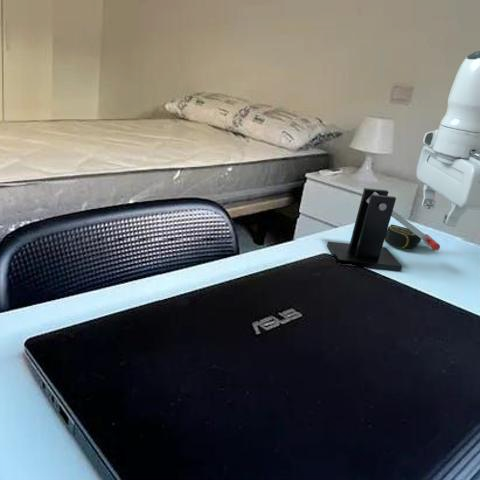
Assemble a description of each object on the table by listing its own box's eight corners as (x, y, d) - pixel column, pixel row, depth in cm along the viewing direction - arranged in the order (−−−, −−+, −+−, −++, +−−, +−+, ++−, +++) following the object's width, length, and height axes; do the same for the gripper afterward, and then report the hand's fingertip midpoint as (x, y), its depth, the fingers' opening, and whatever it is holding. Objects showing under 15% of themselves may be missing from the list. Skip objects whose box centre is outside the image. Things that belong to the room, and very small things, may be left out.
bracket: (384, 252, 104) (402, 189, 98) (400, 271, 96) (421, 203, 90) (326, 246, 104) (341, 183, 99) (337, 265, 96) (355, 197, 91)
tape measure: (419, 246, 109) (424, 230, 107) (411, 255, 104) (416, 238, 102) (387, 237, 113) (391, 221, 111) (378, 245, 108) (382, 228, 106)
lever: (423, 243, 100) (432, 234, 100) (434, 253, 96) (443, 244, 95) (363, 198, 98) (372, 189, 97) (371, 206, 93) (381, 197, 92)
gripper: (512, 160, 80) (482, 238, 86) (452, 135, 99) (431, 201, 105) (473, 156, 81) (445, 234, 86) (421, 132, 99) (401, 198, 105)
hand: (437, 216), depth 96 cm, fingers open, 8 cm apart
